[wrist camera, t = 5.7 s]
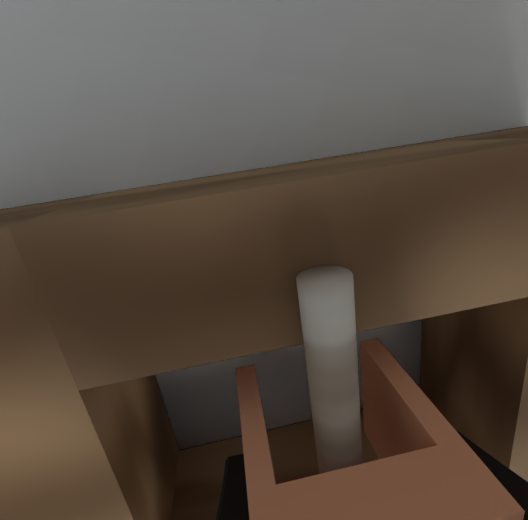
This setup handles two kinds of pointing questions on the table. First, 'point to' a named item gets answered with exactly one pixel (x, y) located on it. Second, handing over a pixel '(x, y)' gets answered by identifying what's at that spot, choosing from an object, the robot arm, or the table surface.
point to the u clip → (379, 471)
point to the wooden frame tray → (256, 317)
